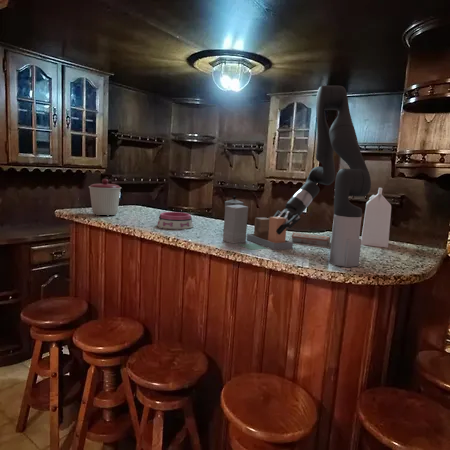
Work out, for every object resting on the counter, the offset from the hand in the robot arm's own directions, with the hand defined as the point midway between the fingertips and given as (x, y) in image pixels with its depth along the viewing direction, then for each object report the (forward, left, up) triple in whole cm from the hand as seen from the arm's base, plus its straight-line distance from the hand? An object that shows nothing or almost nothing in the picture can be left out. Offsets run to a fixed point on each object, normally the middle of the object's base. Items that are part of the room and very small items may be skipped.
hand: (273, 231), depth 151 cm
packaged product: (+2, -21, -7) cm, 22 cm away
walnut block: (+11, -2, -6) cm, 13 cm away
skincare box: (+14, +10, -7) cm, 18 cm away
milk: (-5, -55, -7) cm, 55 cm away
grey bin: (+5, -2, -7) cm, 9 cm away
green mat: (+2, +8, -7) cm, 11 cm away
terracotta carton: (0, -2, -4) cm, 5 cm away
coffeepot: (+36, -2, -7) cm, 37 cm away
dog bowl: (+56, +21, -7) cm, 60 cm away
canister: (+100, +47, -7) cm, 111 cm away
